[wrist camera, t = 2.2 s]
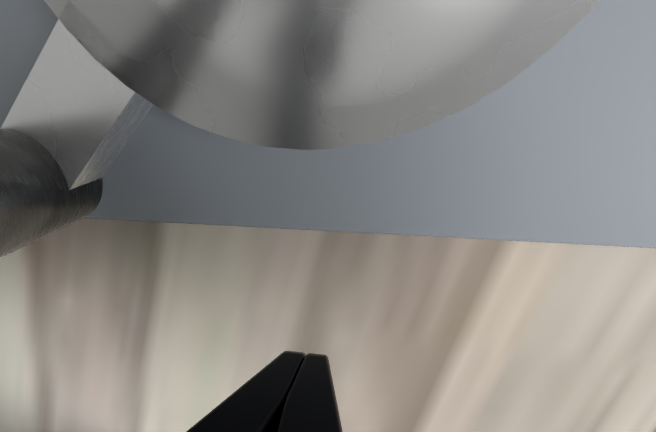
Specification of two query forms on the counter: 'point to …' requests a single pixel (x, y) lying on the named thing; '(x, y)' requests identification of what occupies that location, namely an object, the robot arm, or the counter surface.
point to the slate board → (417, 152)
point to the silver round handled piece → (249, 81)
